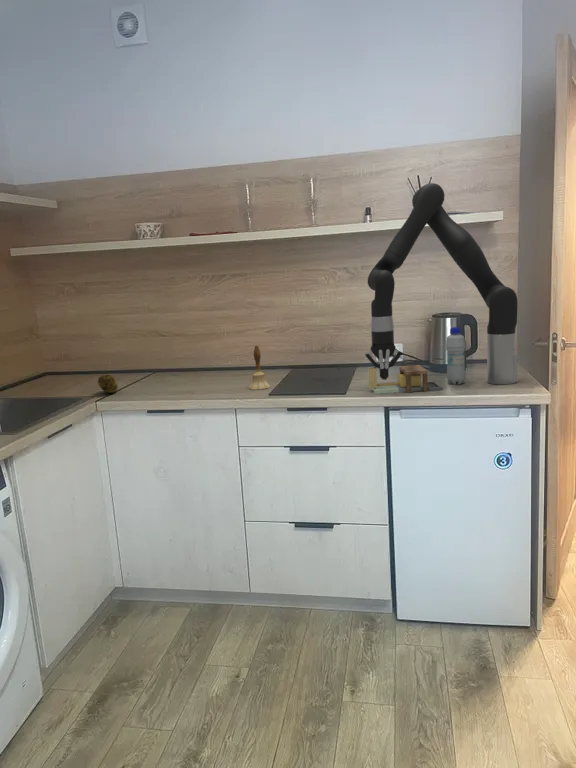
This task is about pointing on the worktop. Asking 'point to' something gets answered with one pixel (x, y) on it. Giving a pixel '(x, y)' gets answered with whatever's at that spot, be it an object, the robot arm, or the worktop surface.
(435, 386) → the pit
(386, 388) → the track
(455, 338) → the bottle
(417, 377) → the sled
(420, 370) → the small wooden table
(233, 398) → the worktop surface
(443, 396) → the worktop surface
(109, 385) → the potato
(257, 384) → the hand bell
